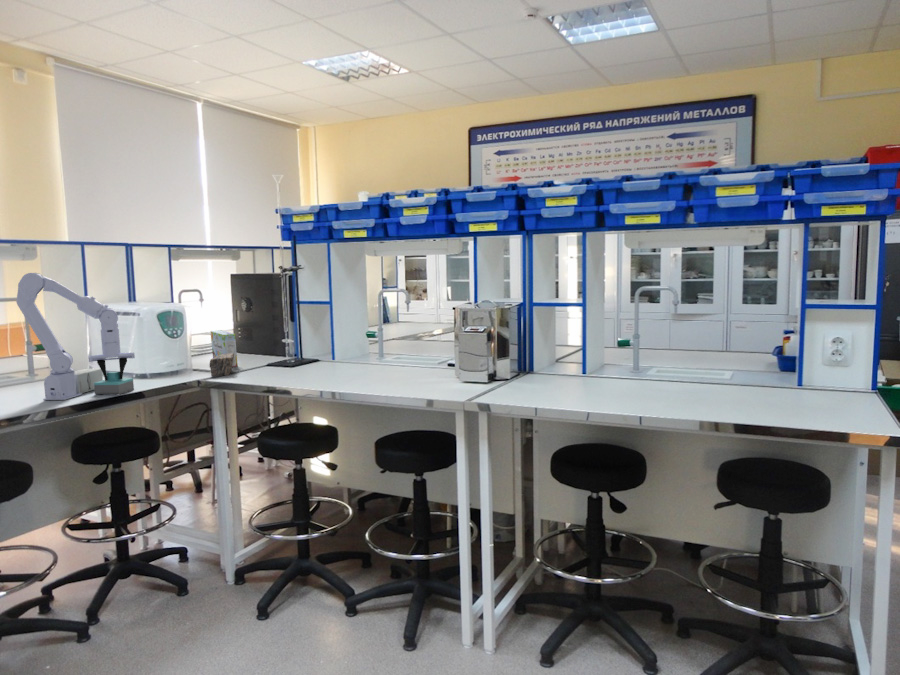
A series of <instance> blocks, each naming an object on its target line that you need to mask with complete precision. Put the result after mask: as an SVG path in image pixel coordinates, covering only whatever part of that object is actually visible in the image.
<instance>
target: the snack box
mask: <svg viewBox="0 0 900 675" xmlns="http://www.w3.org/2000/svg"><path fill="white" fill-rule="evenodd" d="M236 338H237V337H236V333H233V332H229V331H227V330H223V329H218V330H217V329H216V330H210V341H211V342H210V343H211V352H212V359H213V358H214V357H216V356H218V355H221V354H230V353H234V359H233V364H232V368H235V367H238V354H237V340H236Z"/></svg>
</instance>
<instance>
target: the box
mask: <svg viewBox="0 0 900 675" xmlns="http://www.w3.org/2000/svg"><path fill="white" fill-rule="evenodd" d="M94 388H95V390H94V395H95V394H120V395H123V394H126V393H129V392H131V390H132V391H134V390H135V384H134V380H133V381H130V382H126V383H123V384H120V385H94ZM128 391H129V392H128Z"/></svg>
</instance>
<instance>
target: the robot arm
mask: <svg viewBox="0 0 900 675" xmlns="http://www.w3.org/2000/svg"><path fill="white" fill-rule="evenodd" d="M41 291H43V292H50V293H51V292H52V293H56V294H57V295H59V296H61V297H62V298H65V300H68V301H70V302H72V303H74V304H76V307H77V310H79V311H81V312H82V313H84V314H86V315H87V316H90V317H91V318H93V319H95V320H96V319H98V320H99V322H100V328H101V329H100V338H101V349H102V350H101V351H102V354H96V355H95V354H94V355H88V362H89V363H90V362H91V363H93V362H96V364H97V365H98V367H99V369H101V370H102V375H103V377H104V380H105V381H107V367H106V361H113V360H115V361H116V360H118V364H119V372H120V379H122V378H124V377H123V376H124V371H125V367H126V365H127V363H128V359H135V358H136V356H135V352H121V344H120V343H121V342H120V339H121V338H120V329H119V323H118V320H119V316H118V313H117V312H116V311H115V309H113V308H111V307H109V305H108V304H104V303H101V302H99V301H98V300H96V297H94V296H89V295H83V296H81V295H80V294H78V293H76V292H75V291H73V290H71V289H70V288H68V287H67V286H65V285H63V284H61V282H59V281H56V280H54V279H53V278H50V277H47V276H43V274H41V273H37V272H28V273H26V274H25V273H24V275H23V276H21V278H20V280H19V282H18V285H17V294H16V305H17V307H18V308H19V310H20V311H21V313H22V314H23V317H24V318H25V319H26V322H28V323H27V324H29V326H30V327H31V329H32V331H33V332H34V334H35V336H36V338H37V339H38V341H39V342H40V344H41V346H42V347H43V349H44V350H45V353H46V356H47V357H48V360H49V366H50V368H51V370H50V372H49V375H47V376H46V377H45V379H44V381H43V386H44V395H45V397H44V398H43V399H42V400H43V401H65V400H70V399H72V398H74V397H79V396H82V395H83V393H76V383H75V371H76V370H75V369H74V368H72V365H73V362H74V359H73V356H72V354H70V353H69V352H67V351H66V350H65V349H64V347H63V346H62V345H61V343H60V342H59V341H58V339H57V337H56V336H55V334H54V332H53V330H52V329H51V327H50V326H49V324H48V322H47V321H46V318H45V317H44V315H43V314H42V313H41V310H40V309H39V308H38V306H37V305H36V300H37V298H38V296H39V293H40V292H41Z"/></svg>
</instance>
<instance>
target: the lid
mask: <svg viewBox="0 0 900 675" xmlns="http://www.w3.org/2000/svg"><path fill="white" fill-rule="evenodd" d="M106 374H107V381H105V379H104V380H102V381H99V382H95V383H94V385H120V384H123V383H126V382H130V381H133V382H134V378H133V377H125V378H124V377H122V379H120V371H109V372H106Z"/></svg>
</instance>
